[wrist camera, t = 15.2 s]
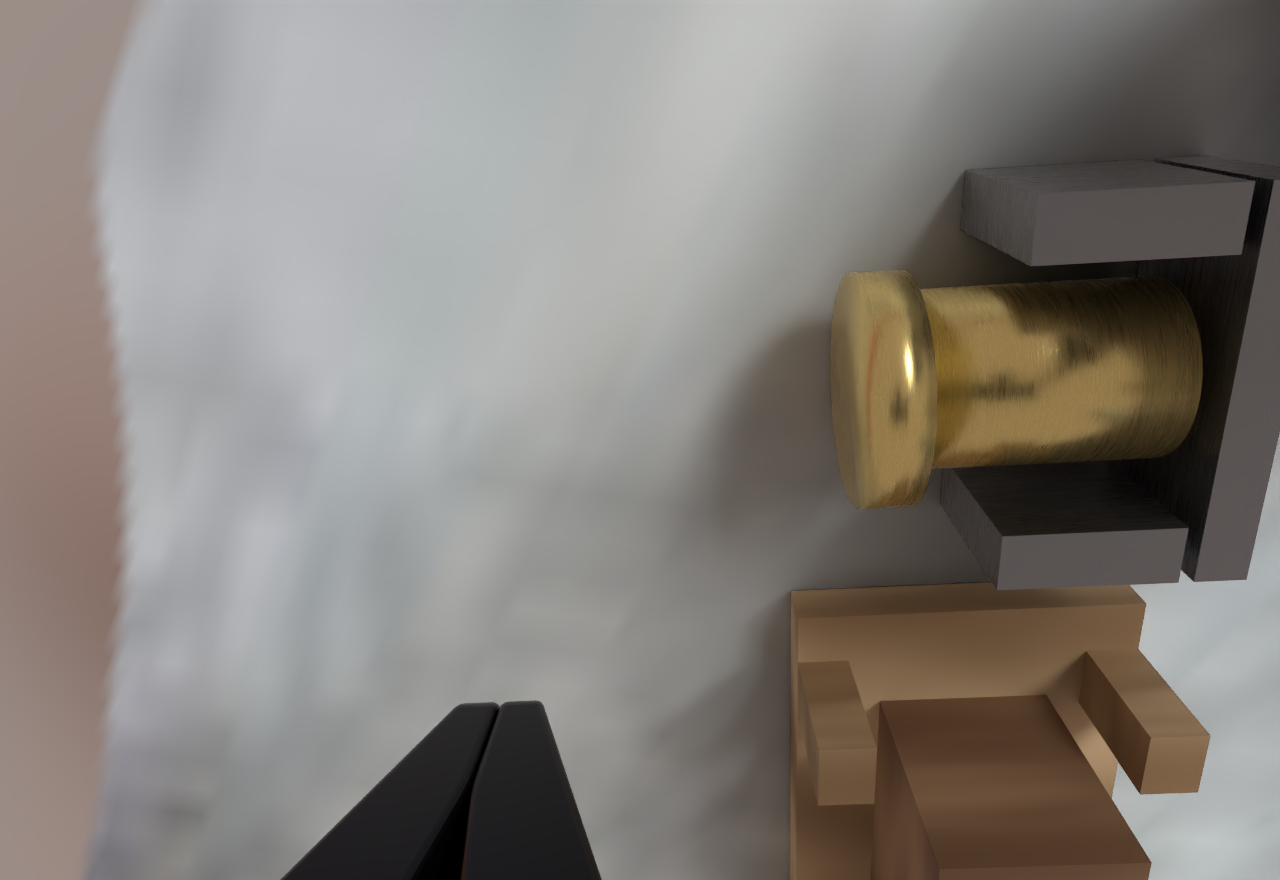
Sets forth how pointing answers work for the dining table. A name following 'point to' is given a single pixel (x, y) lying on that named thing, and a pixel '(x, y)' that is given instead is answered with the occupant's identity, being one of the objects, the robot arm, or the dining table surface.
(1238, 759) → the dining table surface
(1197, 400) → the brass bolt
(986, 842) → the walnut bar
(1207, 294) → the keeper
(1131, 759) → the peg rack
